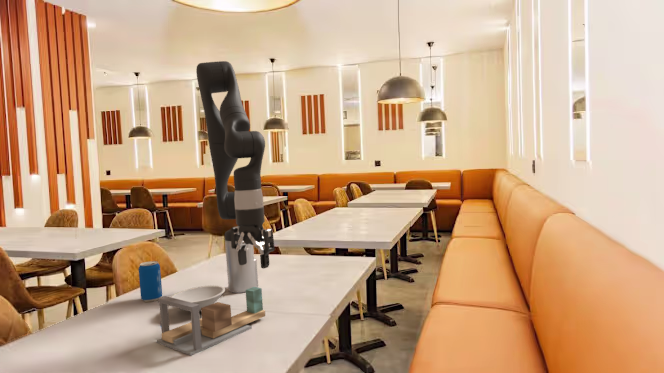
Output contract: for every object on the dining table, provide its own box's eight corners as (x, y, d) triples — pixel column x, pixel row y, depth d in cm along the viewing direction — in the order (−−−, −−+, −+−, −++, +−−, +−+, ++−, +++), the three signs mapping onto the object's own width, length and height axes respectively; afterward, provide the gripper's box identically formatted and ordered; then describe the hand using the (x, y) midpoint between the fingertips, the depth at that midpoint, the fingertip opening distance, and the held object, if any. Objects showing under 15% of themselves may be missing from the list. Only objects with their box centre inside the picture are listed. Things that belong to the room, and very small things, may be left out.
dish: (197, 323, 117) (195, 305, 116) (157, 318, 123) (156, 301, 122) (237, 302, 133) (235, 286, 132) (200, 299, 139) (199, 283, 138)
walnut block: (219, 321, 110) (217, 302, 110) (231, 324, 107) (230, 305, 107) (202, 327, 107) (201, 307, 106) (215, 331, 103) (213, 311, 103)
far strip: (192, 327, 111) (191, 322, 111) (203, 331, 108) (202, 325, 108) (161, 339, 104) (161, 333, 104) (172, 343, 102) (172, 337, 102)
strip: (253, 313, 120) (251, 286, 119) (265, 316, 117) (263, 288, 116) (201, 334, 106) (199, 304, 106) (213, 338, 103) (211, 307, 103)
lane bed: (217, 318, 119) (214, 281, 119) (251, 328, 111) (248, 287, 110) (156, 342, 105) (153, 299, 104) (190, 355, 97) (187, 308, 96)
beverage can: (154, 302, 138) (151, 265, 137) (136, 302, 139) (133, 265, 138) (166, 296, 144) (163, 260, 143) (149, 296, 145) (146, 261, 145)
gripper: (278, 205, 114) (282, 265, 115) (242, 204, 123) (246, 260, 124) (257, 209, 108) (262, 272, 109) (220, 207, 117) (225, 266, 118)
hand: (253, 266), depth 117 cm, fingers open, 8 cm apart
